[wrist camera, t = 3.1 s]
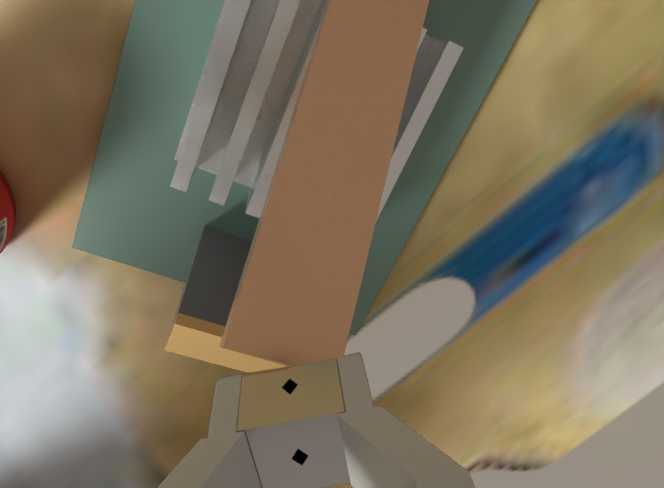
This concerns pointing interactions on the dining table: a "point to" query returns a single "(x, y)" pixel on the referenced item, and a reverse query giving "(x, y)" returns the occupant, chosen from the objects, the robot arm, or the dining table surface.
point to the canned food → (6, 212)
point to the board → (231, 219)
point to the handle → (327, 186)
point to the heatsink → (279, 96)
